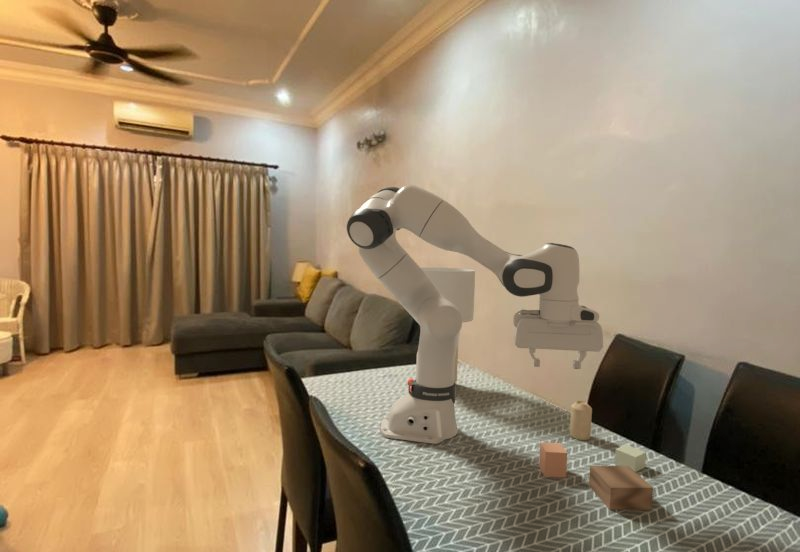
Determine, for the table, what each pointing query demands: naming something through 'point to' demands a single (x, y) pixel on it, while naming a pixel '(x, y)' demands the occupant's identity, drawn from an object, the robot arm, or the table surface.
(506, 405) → the table surface
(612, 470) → the walnut block
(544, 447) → the terracotta block
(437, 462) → the table surface
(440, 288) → the lamp
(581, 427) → the candle
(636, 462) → the sage block
